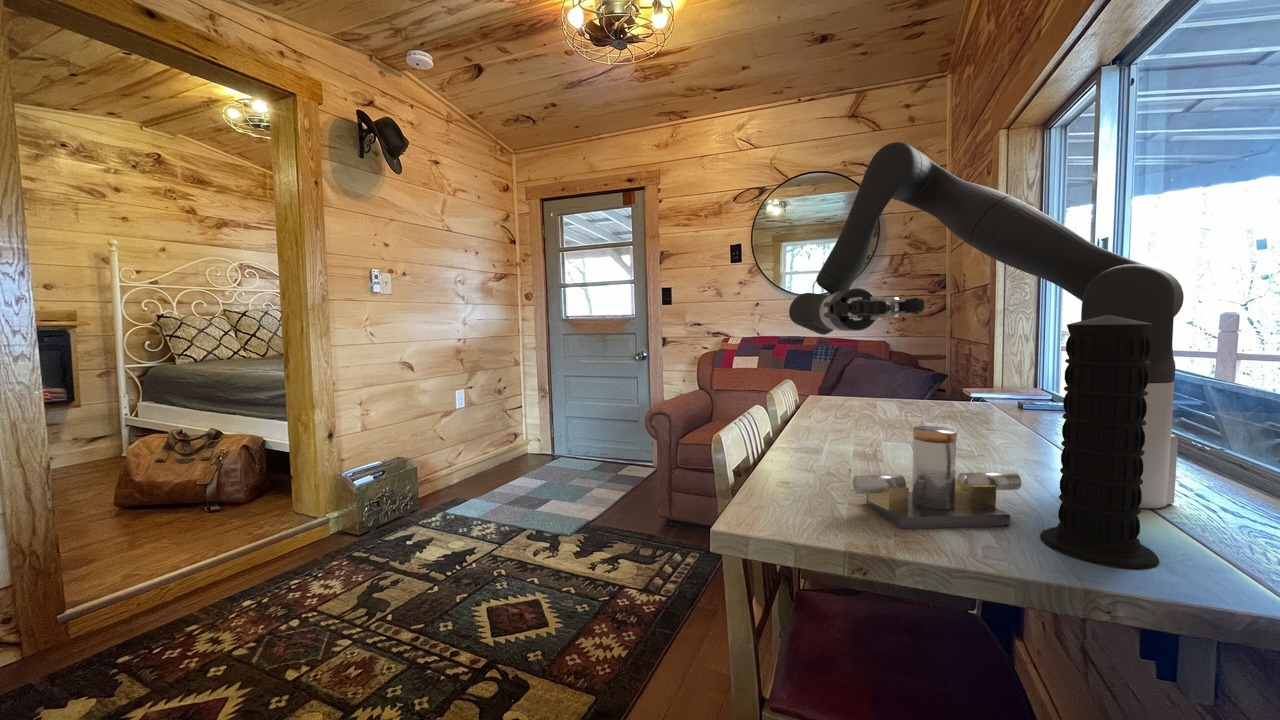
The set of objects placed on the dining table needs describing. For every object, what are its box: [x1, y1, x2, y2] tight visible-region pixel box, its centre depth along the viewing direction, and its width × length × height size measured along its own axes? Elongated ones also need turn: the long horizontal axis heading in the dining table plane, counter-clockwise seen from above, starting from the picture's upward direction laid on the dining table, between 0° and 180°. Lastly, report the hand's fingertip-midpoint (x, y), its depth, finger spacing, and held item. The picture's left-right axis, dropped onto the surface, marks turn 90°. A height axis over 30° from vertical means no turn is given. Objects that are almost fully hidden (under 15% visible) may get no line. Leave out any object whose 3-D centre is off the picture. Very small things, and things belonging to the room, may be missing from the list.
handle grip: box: [1039, 315, 1161, 570], centre depth 56 cm, size 10×26×10 cm
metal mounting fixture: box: [852, 471, 1022, 530], centre depth 67 cm, size 22×9×6 cm, turn 91°
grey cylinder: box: [911, 425, 958, 509], centre depth 67 cm, size 5×5×10 cm
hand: (893, 305), depth 76 cm, fingers open, 8 cm apart
